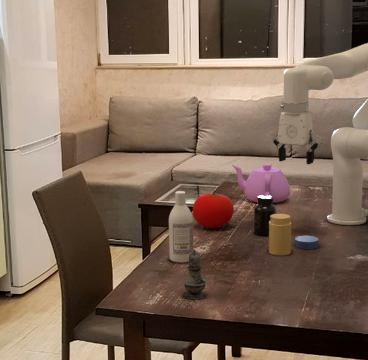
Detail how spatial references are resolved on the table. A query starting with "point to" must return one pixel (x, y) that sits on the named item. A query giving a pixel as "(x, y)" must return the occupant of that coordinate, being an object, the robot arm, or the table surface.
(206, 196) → the tomato
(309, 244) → the lid
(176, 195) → the bath foam
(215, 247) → the table surface
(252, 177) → the teapot
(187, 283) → the dark grey figurine
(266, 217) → the supplement bottle
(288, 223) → the jar
